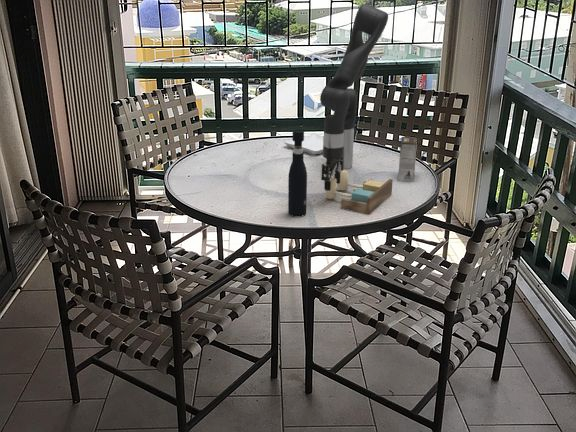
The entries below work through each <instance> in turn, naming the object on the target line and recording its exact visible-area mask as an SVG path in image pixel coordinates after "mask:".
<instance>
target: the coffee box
mask: <svg viewBox="0 0 576 432" xmlns="http://www.w3.org/2000/svg"><path fill="white" fill-rule="evenodd" d="M417 146H418V137H415V136H414V137H413V136H401V141H400V148H399V162H398V173H397V174H398V175H397V181H398V182H399V181H400V182H414V181H415V180H414V179H415V178H414V177H415V171H416V158H417V149H418V148H417Z"/></svg>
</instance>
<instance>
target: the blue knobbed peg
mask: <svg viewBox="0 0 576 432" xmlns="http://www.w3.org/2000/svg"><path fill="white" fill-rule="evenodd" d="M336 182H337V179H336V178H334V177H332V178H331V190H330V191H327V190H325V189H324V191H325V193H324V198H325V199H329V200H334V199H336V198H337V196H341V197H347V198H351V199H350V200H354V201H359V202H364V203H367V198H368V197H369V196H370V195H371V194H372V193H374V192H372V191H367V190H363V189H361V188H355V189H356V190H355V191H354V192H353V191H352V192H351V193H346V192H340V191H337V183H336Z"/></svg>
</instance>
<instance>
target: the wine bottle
mask: <svg viewBox="0 0 576 432" xmlns="http://www.w3.org/2000/svg"><path fill="white" fill-rule="evenodd" d="M304 136H305V131H304V130H303V129H294V130H292V139H293V141H295V142H294V146H295V147H294V148H292V150H293V152H292V159H291V160H292V161H291V164H290V167H289V171H288V180H287V181H288V196H287V197H288V201H287V202H288V204H287V206H288V207H287V210H288V211H287V212H288V213H289V214H290V215H293V216H292V217H294V216H301V217H303V216H302V215H304V216H306V215H307V203H308V202H307V199H308V194H307V193H308V192H307V191H308V189H307V188H308V172H307V167H306V164H305V161H304V153H305V152H304V151H303V148H302V141H304ZM289 214H288V215H289ZM305 214H306V215H305ZM290 215H289V216H290Z"/></svg>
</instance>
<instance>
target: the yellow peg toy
mask: <svg viewBox="0 0 576 432" xmlns="http://www.w3.org/2000/svg"><path fill="white" fill-rule="evenodd" d="M348 179H349V169H343V171H342V172H341V174H340V183H339V184H337V183H336V190H339V191H346V190H348V188H349V187H351V188H355V189H362V190H367V191H372V192H375V191H376V190H377V189H378V188H380V187H381V186H382V185H383V184H384V183H385V182H380V181H375V180H370V179H368V180H365V181H366V182H365V183H364V182H363V184H362V185H361V184H355V183H350V182H349V180H348Z"/></svg>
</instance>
